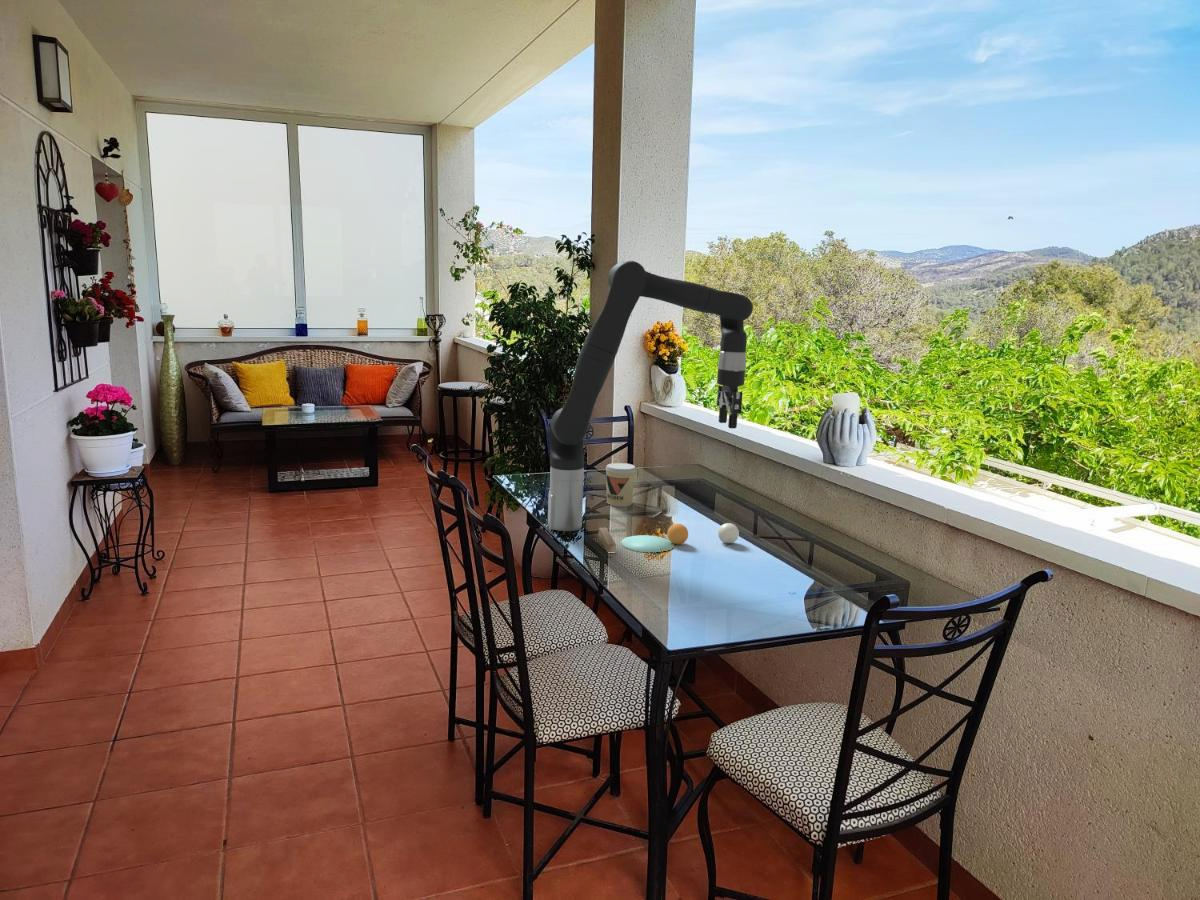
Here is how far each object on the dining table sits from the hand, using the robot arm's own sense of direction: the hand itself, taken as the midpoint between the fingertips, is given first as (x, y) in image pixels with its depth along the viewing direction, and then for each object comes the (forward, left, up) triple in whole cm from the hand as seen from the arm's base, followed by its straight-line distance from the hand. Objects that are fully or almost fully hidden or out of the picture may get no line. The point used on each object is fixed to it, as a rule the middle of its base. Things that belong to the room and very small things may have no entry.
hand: (727, 425), depth 222 cm
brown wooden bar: (-36, -16, -29) cm, 49 cm away
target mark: (-25, -16, -29) cm, 42 cm away
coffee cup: (-25, +24, -30) cm, 45 cm away
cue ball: (-3, -16, -26) cm, 31 cm away
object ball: (-17, -16, -26) cm, 35 cm away
